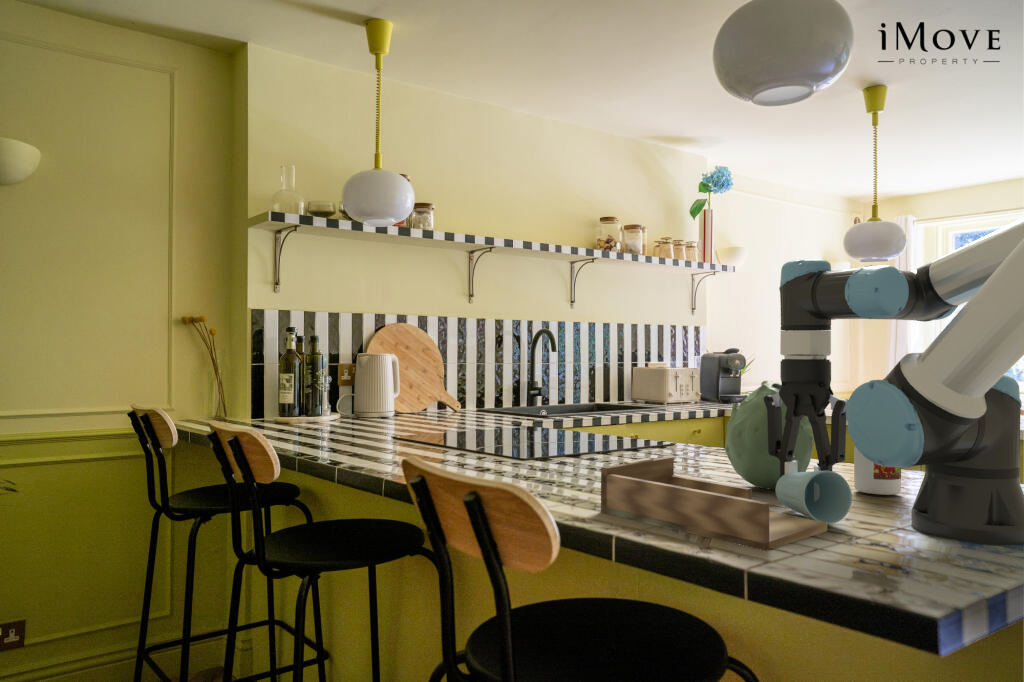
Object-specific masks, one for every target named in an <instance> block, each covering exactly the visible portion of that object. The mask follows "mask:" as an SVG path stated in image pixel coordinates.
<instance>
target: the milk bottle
mask: <svg viewBox="0 0 1024 682" xmlns="http://www.w3.org/2000/svg"><path fill="white" fill-rule="evenodd" d="M853 445H854V444H853ZM853 449H854V450H853V451H854V452H853V453H854V454H853V457H854V458H853V459H854V460H853V462H854V463H853V482H854V484H853V485H854V489H855V490H856V491H857V492H861V493H865V494H872V495H881V496H882V495H883V496H884V495H887V496H890V495H892V496H893V495H898V494H900V493H901V492H902V491H901V490H902V468H898V467H885V466H881V465H878V464H875V463H873V462H871V461H870V460H868V459H867V458H866V457H864V456H863V455H862V454H861V453H860V452H859V450H858V449H857V448H856V446H855V445H854V446H853Z"/></svg>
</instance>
